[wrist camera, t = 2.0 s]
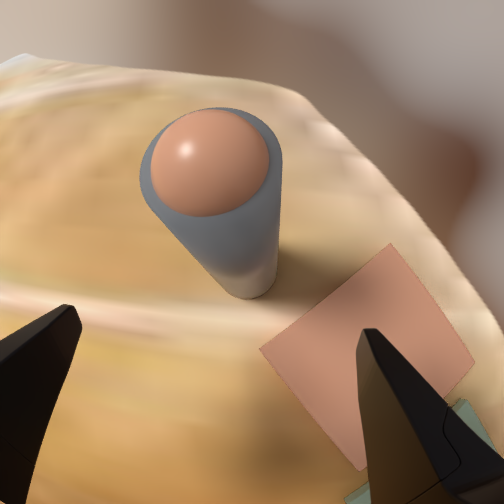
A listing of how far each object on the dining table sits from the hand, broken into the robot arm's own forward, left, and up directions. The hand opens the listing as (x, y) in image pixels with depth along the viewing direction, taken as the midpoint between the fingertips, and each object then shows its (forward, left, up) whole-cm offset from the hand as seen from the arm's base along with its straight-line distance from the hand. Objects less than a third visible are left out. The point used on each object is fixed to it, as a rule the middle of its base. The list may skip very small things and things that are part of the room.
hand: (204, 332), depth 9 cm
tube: (+4, -1, -11) cm, 12 cm away
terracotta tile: (-3, -9, -11) cm, 14 cm away
